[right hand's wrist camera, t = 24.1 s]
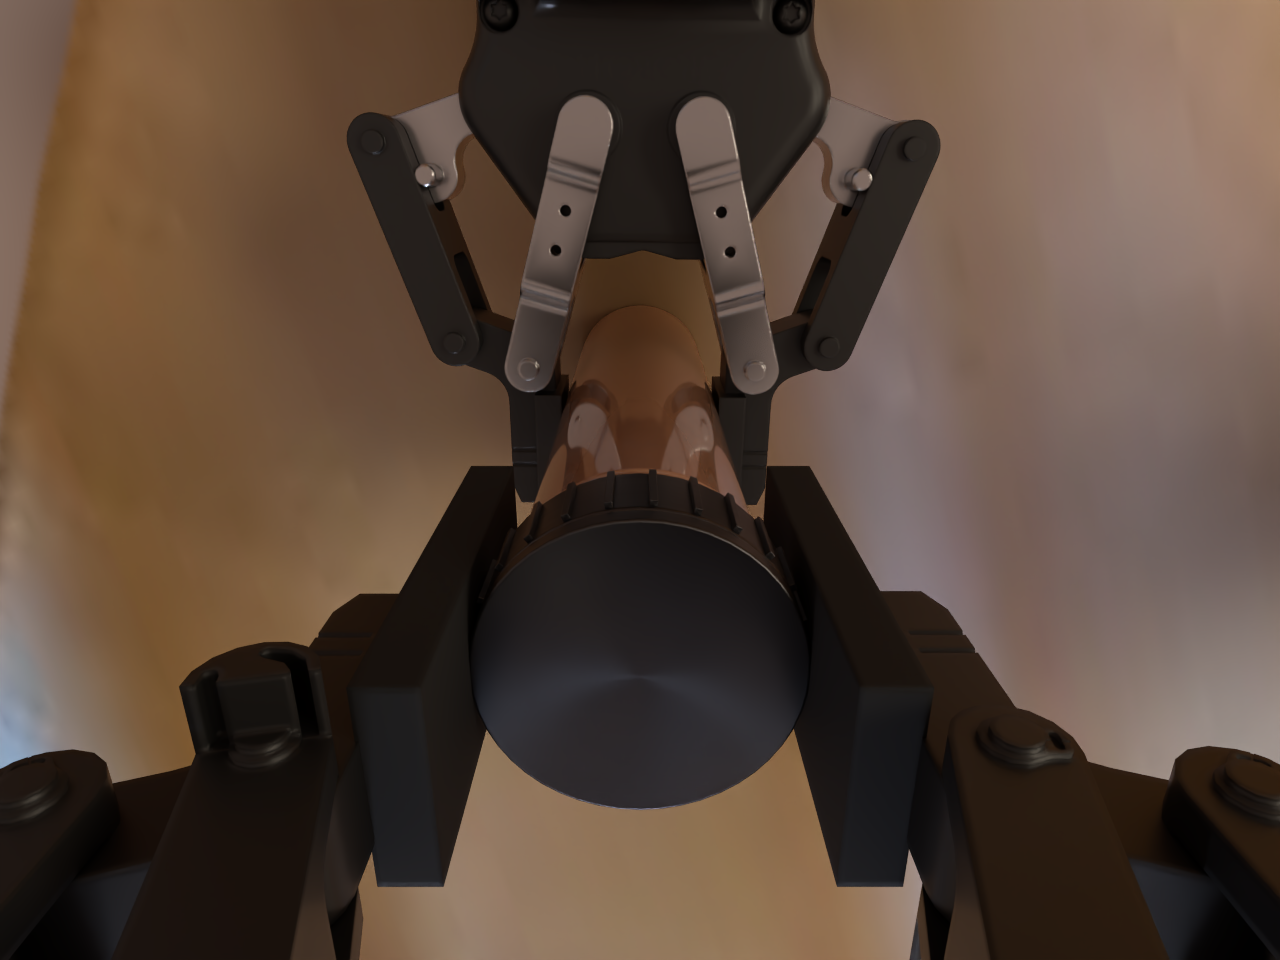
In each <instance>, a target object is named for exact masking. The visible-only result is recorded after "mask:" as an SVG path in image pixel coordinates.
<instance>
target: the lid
mask: <svg viewBox="0 0 1280 960" xmlns="http://www.w3.org/2000/svg"><path fill="white" fill-rule="evenodd" d="M796 590H798V588H797V585H796V582H795V580H794V577H793V574H792V572H791V569H790V566H789V564H788V561H787V558H786V556H785V553H784V551H783V549H782V547H778V548H776V547H775V545H774V544H773V542H772V541H771V539H770V538H769V536H768V534H767V531H766V528H765V525H764V522H763V520H762V519H761V518H760V517H757V518H756V519H755V520H754V518H753V517H752V516H751V515H749V514H748V513H747V512H746V511H745V510H743V509H742V508H741V507H740V506H739V505H737V504H736V502H735V499H734V496H733V495H731V494H730V493H727V494H726V495H725V496H723V495H722V494H720V493H718V492H716V491H714V490H712V489H710V488H708V487H705V486H703V485H701V484H698V479H697V478H695V477H692V476H690V478H689V481H688V480H685V479H682V478H677V477H672V476H666V475H661V474H657V470H656V469H649V474H645V473H635V474H619V475H615V471H608V472H607V477H603V478H598V479H594V480H591V481H588V482H585V483H582V484H579V485H576V484H575V482H571V483H569V484H568V485H567V490H566V491H564V492H561V493H559V494H558V495H556V496H555V497H553V498H552V499H550V500H548V501H547V502H545V503H544V504H542V503H541V502H540V501H538V502H537V503H535V504H534V506H533V509H532V512H531V514H530V515H529V516H528V517H527V518H526V519H525V520H524V521H523V523H522V524H521V525H520V526H519V527H518V528H517V529H516V530H515V529H513V528H510V530H509V531H508V532H507V535H506V538H505V540H504V543H503V546H502V549H501V551H500V554H499V557H498V560H494V559H492V561H491V564H490V567H489V569H488V572H487V575H486V577H485V580H484V583H483V585H482V588H481V590H480V593H479V596H478V598H477V601H476V603H477V604H480V605H482V606H481V608H480V611H479V613H478V616H477V619H476V622H475V626H474V629H473V632H472V636H471V641H470V648H469V664H470V676H471V686H472V695H473V698H474V701H475V704H476V707H477V710H478V713H479V715H480V717H481V719H482V721H483V723H484V725H485V727H486V729H487V731H488V732H489V734H490V735H491V737H492V738H493V739H494V741H495V742H496V744H497V745H498V746H499V748H500V749H501V750H502V751H503V752H504V753H505V754H506V755H507V756H508V758H509V759H510V760H511V761H512V762H514V763H515V764H516V765H517V766H518V767H519V768H521V769H522V770H523V771H524V772H525V773H527V774H528V775H530V776H531V777H533V778H534V779H536V780H537V781H539V782H540V783H542V784H543V785H545V786H547V787H549V788H551V789H553V790H555V791H557V792H559V793H561V794H564V795H566V796H569V797H572V798H574V799H577V800H580V801H583V802H587V803H591V804H595V805H599V806H605V807H611V808H618V809H634V810H646V809H662V808H669V807H675V806H681V805H685V804H689V803H693V802H696V801H700V800H703V799H706V798H708V797H711V796H713V795H716V794H719V793H721V792H723V791H725V790H727V789H729V788H731V787H733V786H734V785H736V784H738V783H740V782H741V781H743V780H744V779H746V778H747V777H749V776H750V775H752V774H753V773H755V772H756V771H757V770H758V769H759V768H760V767H762V766H763V765H764V764H765V763H766V762H767V761H768V760H770V758H771V757H772V756H773V755H774V754H775V753H776V752H777V751H778V750H779V748H780V747H781V746H782V745H783V744H784V742H785V741H786V739H787V738H788V736H789V735H790V733H791V732H792V730H793V729H794V727H795V725H796V723H797V721H798V719H799V717H800V715H801V713H802V710H803V707H804V704H805V701H806V698H807V695H808V689H809V681H810V670H811V650H810V643H809V637H808V633H807V630H806V627H805V626H806V625H807V618H806V616H805V613H804V610H803V607H802V605H801V602H800V599H799V596H798V594H797V591H796Z"/></svg>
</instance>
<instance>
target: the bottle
mask: <svg viewBox="0 0 1280 960" xmlns="http://www.w3.org/2000/svg"><path fill="white" fill-rule="evenodd" d="M649 469H656V470H657V474H661V475H666V476H672V477H677V478H682V479H685V480H688V481H689V478H690V476H692V477H695V478H697V479H698V484H701V485H703V486H705V487H708V488H710V489H712V490H714V491H716V492H718V493H720V494H722V495H723V496H725V495H726V494H727V493H730V494H731V495H733V496H734V499H735V502H736V504H737V505H739V506H740V507H741V508H742V509H743V510H745V511H746V512H747V513H748V514H749V511H748V508H747V505H746V501H745V498H744V495H743V492H742V489H741V485H740V482H739V479H738V476H737V473H736V470H735V466H734V463H733V460H732V457H731V454H730V450H729V447H728V444H727V441H726V438H725V435H724V431H723V428H722V425H721V422H720V419H719V416H718V412H717V409H716V406H715V403H714V400H713V396H712V393H711V390H710V387H709V384H708V381H707V377H706V374H705V371H704V368H703V365H702V361H701V358H700V355H699V352H698V349H697V346H696V343H695V340H694V338H693V337H692V335H691V333H690V331H689V330H688V329H687V327H686V326H685V325H684V324H683V323H682V322H681V321H680V320H679V319H678V318H676V317H675V316H674V315H672V314H670V313H669V312H667V311H664V310H662V309H659V308H656V307H652V306H645V305H636V306H628V307H624V308H621V309H618V310H616V311H613V312H612V313H610V314H608V315H607V316H605V317H604V318H603V319H601V320H600V321H599V322H598V323H597V324H596V325H595V326H594V328H593V329H592V330H591V332H590V333H589V335H588V337H587V339H586V341H585V344H584V346H583V349H582V352H581V356H580V359H579V362H578V365H577V368H576V371H575V375H574V378H573V381H572V384H571V387H570V390H569V394H568V397H567V400H566V403H565V406H564V409H563V413H562V416H561V419H560V422H559V425H558V428H557V432H556V435H555V438H554V441H553V444H552V447H551V451H550V454H549V457H548V460H547V463H546V466H545V469H544V473H543V476H542V479H541V482H540V485H539V488H538V492H537V495H536V498H535V501H534V504H535V503H537V502H538V501H540V502H541V503H542V504H544V503H545V502H547V501H548V500H550V499H552V498H553V497H555V496H556V495H558V494H559V493H561V492H564V491H566V490H567V485H568V484H569V483H571V482H575V484H576V485H579V484H582V483H585V482H588V481H591V480H594V479H598V478H603V477H607V472H608V471H615V475H619V474H635V473H645V474H649ZM534 504H533V506H534ZM532 509H533V507H532ZM531 512H532V511H531ZM749 515H750V514H749Z"/></svg>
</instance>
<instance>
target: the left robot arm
mask: <svg viewBox="0 0 1280 960" xmlns="http://www.w3.org/2000/svg"><path fill="white" fill-rule="evenodd" d="M476 3H477V27H476V33H475V39H474V43H473V47H472V50H471V53H470V56H469V58H468V60H467V62H466V64H465V66H464V68H463V71H462V74H461V77H460V81H459V90H458V93H456V94H453V95H450V96H448V97H445V98H442V99H439V100H437V101H434V102H431V103H428V104H425V105H423V106H420V107H417V108H414V109H412V110H409V111H406V112H403V113H401V114H398V115H395V116H388V115H383V114H378V113H372V112H368V113H363V114H361V115H359V116H357V117H356V118H355V119H354V120H353V121H352V122H351V124H350V126H349V128H348V131H347V144H348V148H349V151H350V153H351V156H352V158H353V160H354V163H355V165H356V168H357V170H358V172H359V175H360V177H361V180H362V182H363V184H364V187H365V189H366V192H367V194H368V196H369V199H370V201H371V204H372V206H373V209H374V211H375V213H376V216H377V218H378V221H379V223H380V225H381V228H382V230H383V233H384V235H385V237H386V240H387V242H388V245H389V247H390V249H391V252H392V254H393V257H394V259H395V261H396V264H397V266H398V269H399V271H400V273H401V276H402V278H403V281H404V283H405V285H406V288H407V290H408V293H409V295H410V297H411V300H412V302H413V305H414V307H415V309H416V312H417V314H418V317H419V319H420V321H421V324H422V326H423V329H424V331H425V333H426V336H427V338H428V341H429V343H430V345H431V348H432V350H433V352H434V354H435V355H436V357H437V358H438V359H439V360H441V361H442V362H444V363H446V364H448V365H451V366H462V365H468V366H470V367H473V368H476V369H479V370H482V371H484V372H487V373H489V374H492V375H493V376H495V377H496V378H498V379H499V380H500V381H501V382H502V383H503V385H504V386H505V388H506V390H507V392H508V395H509V401H510V421H511V441H512V461H513V466H514V482H515V489H516V491H517V493H518V495H519V497H520V499H521V501H522V502H534V501H535V498H536V495H537V492H538V488H539V485H540V482H541V479H542V476H543V473H544V469H545V466H546V463H547V460H548V457H549V454H550V451H551V447H552V444H553V441H554V438H555V435H556V432H557V428H558V425H559V422H560V419H561V416H562V413H563V409H564V406H565V403H566V400H567V397H568V394H569V375H562V374H561V368H560V356H561V353H562V349H563V345H564V341H565V337H566V334H567V330H568V326H569V322H570V318H571V314H572V310H573V306H574V302H575V299H576V295H577V292H578V288H579V285H580V281H581V278H582V274H583V270H584V266H585V262H586V258H592V259H611V258H614V257H618V256H622V255H626V254H629V253H633V252H637V251H641V250H645V251H649V252H652V253H656V254H659V255H663V256H666V257H670V258H673V259H692V260H699V263H700V268H701V272H702V276H703V280H704V284H705V288H706V291H707V295H708V299H709V303H710V307H711V311H712V315H713V320H714V324H715V328H716V333H717V337H718V341H719V345H720V350H721V367H720V377H713V376H712V391H711V393H712V396H713V400H714V403H715V406H716V409H717V412H718V416H719V419H720V422H721V425H722V428H723V431H724V435H725V438H726V441H727V444H728V447H729V450H730V454H731V457H732V460H733V463H734V466H735V470H736V473H737V476H738V479H739V482H740V485H741V489H742V492H743V495H744V498H745V501H746V505H757V503H758V501H759V499H760V497H761V495H762V493H763V491H764V489H765V480H766V466H767V451H768V438H769V423H770V409H771V400H772V397H773V394H774V392H775V390H776V389H777V387H778V386H779V385H780V384H781V383H782V382H784V381H785V380H786V379H788V378H790V377H793V376H795V375H798V374H801V373H804V372H807V371H810V370H813V369H818V370H822V371H831V370H835V369H837V368H839V367H841V366H842V365H844V364H845V363H846V362H847V360H848V359H849V357H850V356H851V354H852V351H853V349H854V347H855V344H856V342H857V340H858V338H859V335H860V333H861V331H862V329H863V326H864V324H865V322H866V319H867V317H868V315H869V313H870V310H871V308H872V306H873V304H874V301H875V299H876V297H877V294H878V292H879V290H880V288H881V285H882V283H883V281H884V279H885V276H886V274H887V272H888V269H889V267H890V265H891V263H892V260H893V258H894V256H895V254H896V251H897V249H898V247H899V245H900V242H901V240H902V238H903V235H904V233H905V231H906V229H907V226H908V224H909V222H910V220H911V217H912V215H913V213H914V210H915V208H916V206H917V204H918V201H919V199H920V197H921V195H922V192H923V190H924V188H925V185H926V183H927V181H928V179H929V176H930V174H931V172H932V170H933V167H934V165H935V163H936V160H937V158H938V155H939V152H940V138H939V135H938V133H937V131H936V129H935V128H934V127H933V126H932V125H931V124H929V123H928V122H926V121H923V120H903V121H892V120H890V119H887V118H885V117H882V116H880V115H877V114H874V113H872V112H869V111H867V110H864V109H861V108H859V107H856V106H854V105H851V104H849V103H846V102H843V101H841V100H838V99H836V98H833V97H831V92H830V84H829V80H828V76H827V73H826V71H825V69H824V67H823V65H822V62H821V60H820V57H819V54H818V50H817V47H816V42H815V35H814V7H815V0H476ZM473 138H476V139H477V140H478V142H479V143H480V144H481V146H482V147H483V149H484V150H485V151H486V153H487V154H488V155H489V157H490V158H491V160H492V161H493V162H494V164H495V165H496V167H497V168H498V169H499V171H500V172H501V173H502V175H503V176H504V178H505V179H506V180H507V182H508V183H509V185H510V186H511V187H512V189H513V190H514V191H515V193H516V194H517V196H518V197H519V198H520V200H521V201H522V203H523V204H524V205H525V207H526V208H527V209H528V211H529V212H530V214H531V215H532V216H533V218H534V219H535V226H534V230H533V234H532V239H531V243H530V247H529V252H528V256H527V260H526V265H525V269H524V273H523V278H522V282H521V289H520V300H519V305H518V309H517V313H516V318H515V320H512V319H509V318H507V317H504V316H501V315H498V314H496V313H493V312H492V310H491V308H490V305H489V303H488V300H487V297H486V295H485V292H484V290H483V287H482V284H481V282H480V279H479V276H478V274H477V271H476V269H475V266H474V263H473V261H472V258H471V256H470V253H469V250H468V248H467V245H466V242H465V240H464V237H463V235H462V232H461V229H460V227H459V224H458V222H457V219H456V216H455V214H454V211H453V208H452V206H451V203H450V201H449V200H450V199H452V198H454V197H456V196H457V195H458V194H459V193H460V192H461V190H462V189H463V186H464V183H465V170H464V166H463V154H464V150H465V148H466V146H467V144H468V143H469V142H470V141H471V140H472V139H473ZM812 141H814V142H815V143H816V144H817V145H818V146H819V147H820V149H821V151H822V153H823V156H824V170H823V174H822V188H823V191H824V193H825V195H826V196H827V197H828V198H829V199H830V200H831V201H832V202H834V203H837V205H836V207H835V210H834V212H833V215H832V217H831V220H830V222H829V225H828V227H827V229H826V232H825V234H824V237H823V239H822V242H821V244H820V247H819V249H818V252H817V254H816V257H815V259H814V261H813V264H812V266H811V269H810V271H809V274H808V276H807V279H806V281H805V284H804V286H803V289H802V291H801V294H800V296H799V298H798V301H797V303H796V306H795V308H794V311H793V313H792V315H790V316H787V317H784V318H782V319H779V320H776V321H773V322H769V317H768V312H767V308H766V302H765V288H764V282H763V277H762V272H761V267H760V262H759V258H758V253H757V248H756V243H755V238H754V234H753V229H752V224H751V222H752V221H753V219H754V218H755V217H756V215H757V214H758V213H759V211H760V210H761V209H762V207H763V206H764V205H765V203H766V202H767V201H768V200H769V198H770V197H771V196H772V194H773V193H774V192H775V190H776V189H777V188H778V186H779V185H780V184H781V182H782V181H783V180H784V178H785V177H786V176H787V174H788V173H789V172H790V170H791V169H792V168H793V166H794V165H795V164H796V162H797V161H798V160H799V158H800V157H801V156H802V154H803V153H804V152H805V150H806V149H807V148H808V146H809V145H810V144H811V143H812Z"/></svg>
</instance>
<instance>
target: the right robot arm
mask: <svg viewBox="0 0 1280 960" xmlns="http://www.w3.org/2000/svg"><path fill="white" fill-rule="evenodd" d="M764 525H765V528H766V531H767V534H768V536H769V538H770V539H771V541H772V542H773V544H774V545H775V547H776V548H778V547H782V549H783V551H784V553H785V556H786V558H787V561H788V564H789V566H790V569H791V572H792V574H793V577H794V580H795V582H796V585H797V588H798V590H796V591H797V594H798V596H799V599H800V602H801V605H802V607H803V610H804V613H805V616H806V618H807V625H806V626H805V627H806V630H807V633H808V637H809V643H810V650H811V670H810V681H809V689H808V695H807V698H806V701H805V704H804V707H803V710H802V713H801V715H800V717H799V719H798V721H797V723H796V725H795V727H794V731H795V735H796V738H797V742H798V745H799V749H800V753H801V756H802V760H803V764H804V767H805V771H806V775H807V778H808V782H809V786H810V789H811V793H812V797H813V800H814V804H815V808H816V811H817V815H818V819H819V822H820V826H821V830H822V833H823V837H824V841H825V844H826V848H827V852H828V855H829V859H830V863H831V866H832V870H833V874H834V877H835V881H836V885H837V887H903V883H904V877H905V871H906V864H907V858H908V852H909V850H910V852H911V855H912V857H913V860H914V862H915V865H916V867H917V870H918V873H919V875H920V878H921V880H922V889H921V895H920V901H919V907H918V913H917V919H916V924H915V930H914V936H913V942H912V948H911V954H910V960H1280V765H1279V764H1277V763H1275V762H1273V761H1272V760H1270V759H1268V758H1265V757H1262V756H1259V755H1256V754H1250V752H1245V751H1241V750H1237V749H1230V748H1221V747H1212V746H1206V747H1200V748H1194V749H1188V750H1186V751H1185V752H1184V753H1183V754H1181V755H1180V756H1179V757H1178V758H1176V759H1175V762H1174V766H1173V769H1172V772H1171V776H1170V779H1169V780H1165V779H1160V778H1156V777H1151V776H1146V775H1141V774H1137V773H1132V772H1127V771H1122V770H1118V769H1113V768H1109V767H1105V766H1102V765H1098V764H1095V763H1091V762H1088V761H1087V759H1086V756H1085V754H1084V752H1083V751H1082V749H1081V748H1080V747H1079V745H1078V744H1077V742H1076V741H1075V740H1074V738H1073V737H1072V736H1071V735H1070V734H1068V733H1067V732H1066V731H1064V730H1063V729H1062V728H1060V727H1059V726H1058V725H1056V724H1055V723H1054V722H1052V721H1050V720H1047V719H1045V718H1043V717H1041V716H1039V715H1036V714H1034V713H1032V712H1030V711H1026V710H1022V709H1018V708H1016V707H1015V706H1014V704H1013V703H1012V701H1011V700H1010V698H1009V697H1008V696H1007V694H1006V693H1005V691H1004V690H1003V688H1002V687H1001V685H1000V684H999V683H998V681H997V680H996V678H995V677H994V675H993V674H992V672H991V671H990V670H989V668H988V667H987V665H986V664H985V662H984V661H983V660H982V658H981V657H980V655H979V654H978V653H975V648H974V647H973V645H972V644H971V642H970V641H969V639H968V638H967V636H966V635H963V633H962V629H961V628H960V626H959V625H958V623H957V622H956V621H955V619H954V618H953V616H952V615H951V613H950V612H949V611H948V609H946V608H945V607H943V606H942V605H940V604H939V603H937V602H936V601H935V600H933V599H932V598H930V597H929V596H927V595H926V594H924V593H923V592H921V591H880V590H879V589H878V587H877V585H876V583H875V582H874V580H873V578H872V576H871V574H870V573H869V571H868V569H867V567H866V566H865V564H864V562H863V560H862V558H861V557H860V555H859V553H858V551H857V550H856V548H855V546H854V544H853V543H852V541H851V539H850V537H849V535H848V534H847V532H846V530H845V528H844V527H843V525H842V523H841V521H840V520H839V518H838V516H837V514H836V512H835V511H834V509H833V507H832V505H831V504H830V502H829V500H828V498H827V496H826V495H825V493H824V491H823V489H822V488H821V486H820V484H819V482H818V481H817V479H816V477H815V475H814V473H813V472H812V470H811V468H810V466H767V474H766V490H765V507H764ZM510 528H513V529H515V530H516V529H517V515H516V498H515V482H514V466H471V467H470V469H469V471H468V473H467V474H466V476H465V478H464V480H463V481H462V483H461V485H460V487H459V489H458V490H457V492H456V494H455V496H454V497H453V499H452V501H451V503H450V504H449V506H448V508H447V510H446V512H445V513H444V515H443V517H442V519H441V520H440V522H439V524H438V526H437V528H436V529H435V531H434V533H433V535H432V536H431V538H430V540H429V542H428V543H427V545H426V547H425V549H424V551H423V552H422V554H421V556H420V558H419V559H418V561H417V563H416V565H415V567H414V568H413V570H412V572H411V574H410V575H409V577H408V579H407V581H406V582H405V584H404V586H403V588H402V590H401V591H400V593H399V594H359V595H357V596H356V597H355V598H353V599H352V600H350V601H349V602H347V603H346V604H344V605H343V606H341V607H340V608H338V609H337V610H335V611H334V612H333V613H332V614H331V616H330V617H329V619H328V620H327V622H326V623H325V625H324V626H323V628H322V629H321V630H320V632H319V636H318V638H315V639H314V641H313V642H312V644H311V645H310V646H309V647H307V646H303V645H299V644H295V643H291V642H263V643H258V644H254V645H249V646H244V647H239V648H236V649H233V650H231V651H228V652H226V653H223V654H221V655H218V656H216V657H213V658H211V659H210V660H208V661H207V662H205V663H204V664H202V665H201V666H199V667H198V668H196V669H195V670H193V671H192V672H191V673H190V674H189V675H188V676H187V678H186V679H185V680H184V681H183V682H182V684H181V685H180V686H179V688H180V692H181V696H182V700H183V705H184V709H185V713H186V717H187V721H188V725H189V729H190V733H191V737H192V741H193V745H194V749H195V753H196V755H195V758H194V760H193V762H192V765H191V766H187V767H184V768H180V769H177V770H173V771H169V772H165V773H160V774H155V775H150V776H146V777H141V778H136V779H132V780H127V781H122V782H117V783H113V784H112V780H111V777H110V774H109V770H108V767H107V764H106V762H105V761H104V760H102V759H101V758H100V757H99V756H97V755H96V754H95V753H92V752H85V751H79V750H64V751H55V752H46V753H43V754H39V755H34V756H32V757H29V758H28V757H27V758H24V759H21V760H18V761H16V762H13V763H11V764H9V765H7V766H5V767H3V768H1V769H0V960H359V955H360V945H361V936H362V926H363V914H362V907H361V901H360V895H359V889H358V886H359V883H360V880H361V878H362V875H363V873H364V870H365V868H366V865H367V863H368V860H369V857H370V855H371V852H372V855H373V861H374V867H375V874H376V880H377V886H378V887H444V883H445V879H446V876H447V872H448V868H449V865H450V861H451V857H452V854H453V850H454V846H455V843H456V839H457V835H458V832H459V828H460V824H461V821H462V817H463V813H464V810H465V806H466V802H467V799H468V795H469V791H470V788H471V784H472V780H473V777H474V773H475V769H476V766H477V762H478V758H479V755H480V751H481V747H482V744H483V740H484V736H485V733H486V727H485V725H484V723H483V721H482V719H481V717H480V715H479V713H478V710H477V707H476V704H475V701H474V698H473V695H472V686H471V676H470V664H469V648H470V641H471V636H472V632H473V629H474V626H475V622H476V619H477V616H478V613H479V611H480V608H481V606H482V605H480V604H477V603H476V601H477V598H478V596H479V593H480V590H481V588H482V585H483V583H484V580H485V577H486V575H487V572H488V569H489V567H490V564H491V561H492V559H494V560H498V557H499V554H500V551H501V549H502V546H503V543H504V540H505V538H506V535H507V532H508V531H509V530H510Z"/></svg>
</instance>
